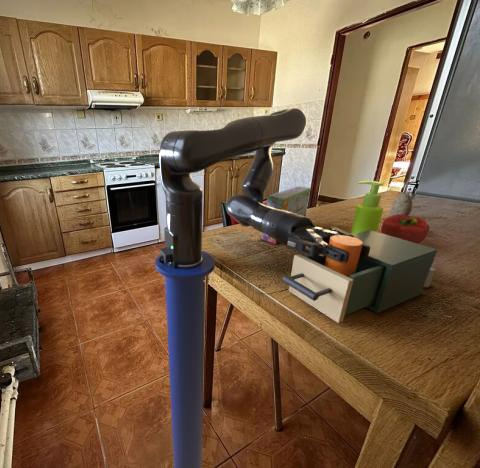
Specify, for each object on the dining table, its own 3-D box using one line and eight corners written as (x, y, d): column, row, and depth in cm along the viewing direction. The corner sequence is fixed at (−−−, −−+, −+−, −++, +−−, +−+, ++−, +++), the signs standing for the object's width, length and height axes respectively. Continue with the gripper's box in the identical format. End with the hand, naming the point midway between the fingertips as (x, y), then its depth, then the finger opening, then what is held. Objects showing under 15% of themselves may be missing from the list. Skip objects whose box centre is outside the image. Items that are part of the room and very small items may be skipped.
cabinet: (377, 313, 50) (392, 265, 46) (319, 282, 61) (327, 240, 57) (420, 294, 55) (437, 249, 51) (359, 268, 66) (370, 229, 62)
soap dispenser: (347, 243, 80) (363, 178, 73) (374, 250, 75) (393, 181, 68) (339, 248, 77) (354, 181, 70) (366, 256, 72) (386, 184, 65)
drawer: (318, 331, 45) (328, 288, 41) (271, 296, 54) (275, 259, 51) (385, 303, 51) (397, 264, 48) (331, 276, 61) (339, 242, 58)
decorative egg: (384, 217, 101) (392, 192, 97) (393, 215, 103) (400, 190, 100) (402, 221, 96) (411, 195, 92) (411, 219, 98) (419, 193, 95)
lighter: (429, 287, 57) (442, 254, 54) (421, 287, 57) (433, 254, 54) (403, 271, 64) (413, 241, 61) (396, 271, 64) (405, 241, 61)
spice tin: (340, 288, 49) (350, 247, 45) (316, 275, 53) (323, 238, 50) (358, 281, 50) (369, 242, 47) (333, 270, 55) (342, 233, 52)
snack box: (277, 245, 81) (283, 198, 75) (261, 240, 85) (265, 195, 79) (304, 227, 94) (311, 187, 88) (289, 224, 98) (295, 185, 92)
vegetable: (429, 256, 70) (442, 221, 67) (382, 250, 75) (392, 217, 71) (414, 241, 80) (424, 210, 76) (373, 237, 84) (381, 207, 80)
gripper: (263, 216, 58) (335, 243, 43) (310, 208, 63) (388, 229, 48) (260, 247, 61) (326, 281, 46) (305, 236, 66) (377, 264, 51)
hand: (357, 254), depth 47 cm, fingers closed on spice tin, 5 cm apart
